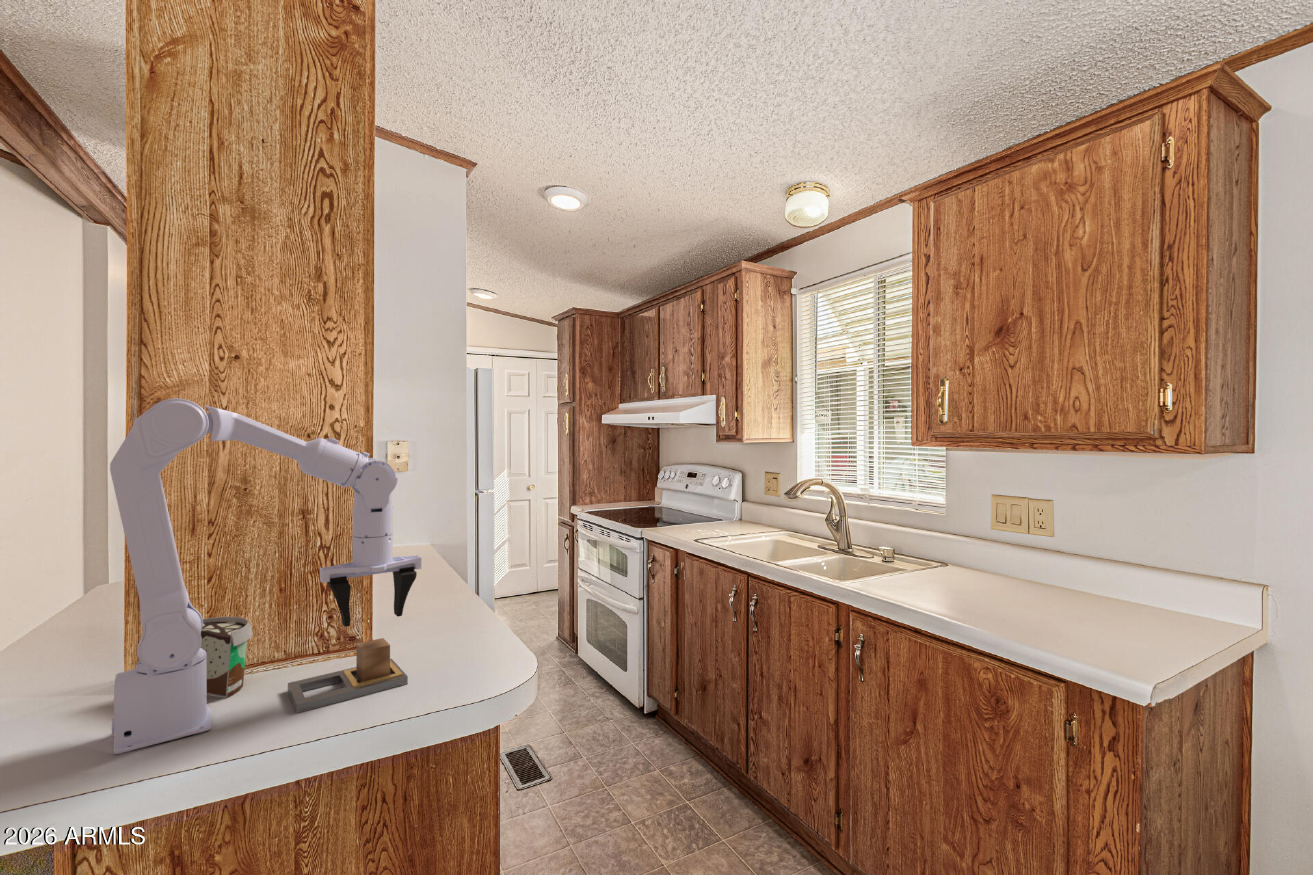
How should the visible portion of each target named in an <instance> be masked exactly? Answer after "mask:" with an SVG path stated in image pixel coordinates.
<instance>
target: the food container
mask: <svg viewBox="0 0 1313 875" xmlns="http://www.w3.org/2000/svg"><path fill="white" fill-rule="evenodd" d="M202 619H203V627H202V630H201V637H202V643H201V647H200V648H201V649H203V650H205V651H206V653H207V655H206V657H207V696H211V697H217V698H221V699H223V698H224V699H228V698H230V697H232V696H234V695H235V694H237V693H238V692H240V691H241V690H242V688H244V679H245V678H244V677H245V671H246V670H245V669H246V667H245V666H246V659H247V658H246V657H247V656H246V655H247V648H248V647H247V646H248V641H249V640H250V639H251V638H252V637H253V633H254V632H253V629H252V625H251V623H249V620H248V619H247V618H245V617H241V616H215V617H208V618H207V617H206V618H202Z"/></svg>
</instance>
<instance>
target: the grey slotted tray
mask: <svg viewBox="0 0 1313 875" xmlns="http://www.w3.org/2000/svg"><path fill="white" fill-rule="evenodd" d="M408 678H409V676H408V675H407V674H406V673H405V671H403V669H401V667H400V666H399V665H398V664H397V663H396V662H395V661H394V659H393V658H390V675H388V676H384V677H380V678H376V679H372V680H368V681H364V682H360V683H358V682H357V681H356V666H354V667H350V668H346V669H342V670H337V671H333V672H330V673H325V674H324V673H323V674H321V675H316V676H312V677H308V678H303V679H300V680H295V681H290V682H287V692H288V695H289V697H290V700H291V702H292V704H293V707H294V710H295V713H296V714H299V713H303V712H307V711H310V710H314V709H317V708H321V707H325V706H329V705H334V704H337V703H340V702H344V701H347V700H348V701H349V700H352V699H356V698H359V697H364V696H367V695H370V694H373V693H378V692H382V691H385V690H389V689H393V688H397V687H401V686H405V685H408V683H409V682H408ZM335 684H339V685H340V686H341V687H342V688H339V689H333V690H331V691H330V690H329V691H326V692H322V693H319V694H315V695H311V696H307V697H305V695H304V693H303V692H306V691H311V690H315V689H319V688H323V687H328V686H331V685H335Z"/></svg>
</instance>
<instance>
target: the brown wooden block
mask: <svg viewBox="0 0 1313 875" xmlns="http://www.w3.org/2000/svg"><path fill="white" fill-rule="evenodd" d="M355 644H356V647H355V648H356V649H355V650H356V652H355V653H356V655H355V656H356V659H355V660H356V666H355V667H356V681H357V682H358V683H360V682H364V681H368V680H372V679H376V678H380V677H384V676H388V675H390V659H391V644H390V643H389V642H388V641H387V640H386V639H385V638H384V637H382V638H381V637H380V638H377V639H372V640H367V641H362V642H357V643H355Z"/></svg>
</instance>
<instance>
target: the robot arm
mask: <svg viewBox="0 0 1313 875" xmlns="http://www.w3.org/2000/svg"><path fill="white" fill-rule="evenodd" d="M204 407H205V409H206V410H205V409H203V408H202V406H201V405H199V404H197V403H196V402H194V401H192V400H188V399H184V398H177V397H175V398H169V399H168V398H167V399H163V400H161V401H159V402H157V403H156V404H154V405H152V407H150V408H149V409H147V410H146V411H144V413H142V414H141V415H140V416H138V417H137V418H136V419H135V420H134V422H133V424H132V427H131V428H130V430H129V432H128V434H127V435H126V437H125V438H124V440H123V442H122V443H121V444H120V446H119V448H118V450H117V452H115V454H114V456H113V458H111V459H112V460H111V461H110V463H109V471H110V476H111V480H112V485H113V489H114V493H115V498H116V502H117V507H118V510H119V515H120V520H121V524H122V528H123V534H124V537H125V543H126V546H127V550H128V556H129V558H130V559H129V560H130V563H131V568H132V572H133V576H134V581H135V586H136V590H137V594H138V599H139V613H140V616H139V618H140V625H141V629H142V631H141V637H140V639H139V642H138V645H137V649H136V654H137V658H138V659H139V660H138V661H137V663H136V665H135V667H134V668H133V669H130V670H126V671H122V672H118V673H116V674H115V677H114V692H113V718H112V719H111V734H113V754H114V755H118V754H123V753H126V752H130V751H131V752H132V751H134V750H138V749H142V748H145V747H146V748H147V747H149V746H153V745H156V744H162V743H164V742H165V743H166V742H168V741H172V740H177V739H181V738H184V737H188V736H191V735H196V734H199V733H204V732H207V731H210V730H211V729H212V719H211V709H210V705H208V704H207V703H208V702H207V698H208V695H207V657H206V655H207V653H206V651H205V650H203V649H201V648H200V647H201V643H202V637H201V630H202V627H203V619H204V618H203V617H202V614H201V612H200V611H199V610H197V608H196V607H194V605H192V603H191V601H190V596H189V593H188V590H187V588H186V586H185V581H184V577H183V572H182V567H181V563H180V558H179V552H178V549H177V544H176V540H175V536H174V531H173V526H172V522H171V516H170V513H169V509H168V504H167V499H166V495H165V490H164V486H163V479H162V476H161V473H162V471H163V470H164V469H165V468H166V467H167V466H168V465H169V464H170V463H171V462H172V461H173V460H174V459H175V458H176V457H177V455H178V454H179V453H180V452H182V451H184V450H187V449H189V448H190V447H191V446H193V445H195V444H197V443H198V442H200V441H201V440H203V438H205V437H206V436H207V434H211V435H210V442H221V441H222V442H224V441H238V442H241V443H245V444H248V445H250V446H253V447H256V448H260V449H262V450H265V451H268V452H271V453H274V454H277V455H280V456H283V457H286V458H288V459H292V460H294V461H296V462H297V464H298V466H299V469H300V472H302V473H303V474H306V475H309V476H312V477H314V478H318V479H320V480H323V481H326V482H328V483H332V484H334V485H337V486H339V487H343V488H347V487H348V488H349V487H351V489H352V490H353V506H352V561H350V562H345V563H340V564H336V565H332V566H331V565H329V566H324V567H320V568H319V581H320V583H322V584H325V583H327V585H328V587H329V589H330V591H331V592H332V594H333V596H334V599H335V600H336V603H337V607H338V610H339V613H340V616H341V625H342V626H343V627H344V628H345V627H350V626H351V612H350V611H351V610H350V600H351V589H352V585H351V584H350V583H349V581H350V580H349V579H351V578H357V577H364V576H365V577H366V576H371V575H379V574H386V573H392V577H393V578H392V579H393V587H394V589H393V590H394V592H393V594H394V595H393V597H394V599H393V614H394V615H395V616H396V617H397V618H399V617H402V616H403V614H404V613H403V612H404V607H405V604H406V600H407V598H408V595H409V592H410V591H411V588H412V587H413V584H414V582H415V580H416V579H417V571H416V570H420V569H422V556H421V555H420V556H419V555H410V556H393V555H394V554H393V553H394V552H393V549H394V548H393V547H394V546H393V541H394V540H393V535H394V534H393V532H394V531H393V530H394V529H393V520H394V519H393V518H394V517H393V516H394V515H393V513H394V512H393V510H394V506H393V491H394V490H395V489H396V486H397V485H398V477H396V472H395V469H393V467H392V466H391V465H390V464H388V463H387V462H385V461H382V460H377V459H376V458H374V457H373V458H372V457H369V456H370V453H368V452H365V451H362V452H361V453H360V452H358V451H355V450H353V449H350V448H348V447H345V446H343V445H340V444H339V439H336V438H333V437H328V439H325V438H323V437H317V438H315V439H311V440H309V441H305V440H304V439H300V438H298V437H296V436H293V435H290V434H288V433H285V432H283V431H281V430H278V429H276V428H275V427H271V426H269V425H267V424H264V423H261V422H259V421H257V420H254V419H252V418H249V417H247V416H246V415H242V414H239V413H237V412H233V411H229V410H226V409H222V408H218V407H213V406H209V405H204ZM206 411H208V412H206Z"/></svg>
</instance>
